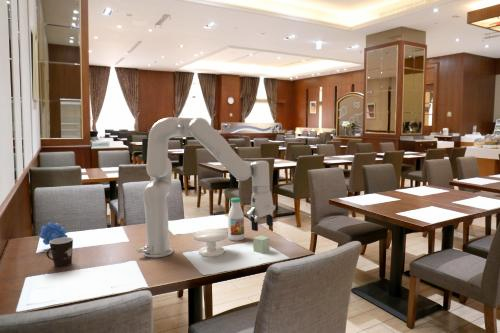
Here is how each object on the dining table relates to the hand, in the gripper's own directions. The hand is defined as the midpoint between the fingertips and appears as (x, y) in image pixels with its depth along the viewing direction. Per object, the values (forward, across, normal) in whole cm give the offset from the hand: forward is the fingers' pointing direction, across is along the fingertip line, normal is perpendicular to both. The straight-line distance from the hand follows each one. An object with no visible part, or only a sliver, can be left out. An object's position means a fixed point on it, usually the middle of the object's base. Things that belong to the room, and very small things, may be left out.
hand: (262, 227), depth 168 cm
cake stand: (+10, -17, +16) cm, 25 cm away
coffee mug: (+9, -68, +50) cm, 85 cm away
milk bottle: (+10, +4, +22) cm, 24 cm away
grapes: (+8, -60, +76) cm, 97 cm away
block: (+10, -1, +1) cm, 10 cm away
